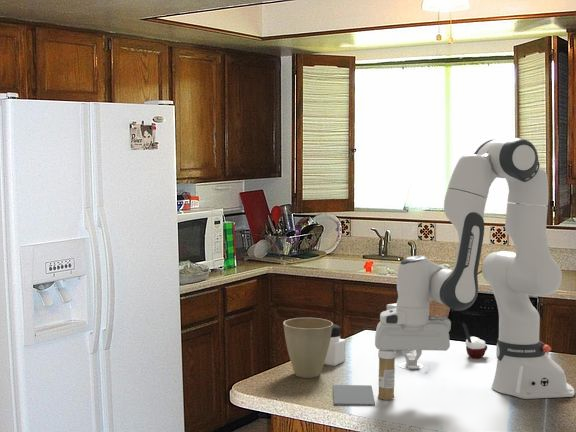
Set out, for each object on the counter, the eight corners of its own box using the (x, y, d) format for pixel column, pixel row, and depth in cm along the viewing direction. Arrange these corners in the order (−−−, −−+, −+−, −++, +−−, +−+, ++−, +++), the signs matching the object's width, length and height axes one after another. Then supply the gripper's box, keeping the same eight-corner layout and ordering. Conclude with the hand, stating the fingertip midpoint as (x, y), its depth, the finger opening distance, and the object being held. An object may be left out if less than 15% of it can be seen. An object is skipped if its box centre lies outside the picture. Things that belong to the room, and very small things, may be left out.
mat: (371, 387, 242) (371, 385, 242) (375, 405, 225) (375, 403, 225) (333, 386, 242) (333, 384, 242) (333, 405, 225) (333, 403, 225)
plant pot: (276, 379, 250) (276, 326, 248) (291, 366, 264) (291, 316, 262) (325, 383, 245) (325, 329, 243) (337, 370, 259) (338, 319, 258)
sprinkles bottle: (376, 395, 233) (377, 348, 232) (392, 395, 234) (393, 347, 233) (379, 400, 229) (380, 352, 228) (396, 400, 229) (397, 352, 228)
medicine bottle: (345, 361, 270) (346, 324, 269) (334, 366, 264) (335, 328, 263) (326, 358, 274) (326, 321, 273) (315, 362, 268) (315, 325, 267)
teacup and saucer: (420, 372, 259) (420, 359, 258) (394, 369, 262) (395, 356, 261) (425, 365, 267) (425, 352, 267) (401, 362, 270) (401, 350, 269)
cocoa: (485, 354, 278) (486, 319, 277) (491, 359, 272) (492, 323, 271) (457, 355, 278) (458, 319, 277) (462, 360, 271) (463, 323, 270)
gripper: (449, 313, 232) (448, 363, 233) (374, 312, 233) (374, 361, 234) (452, 318, 225) (451, 369, 227) (376, 317, 226) (375, 367, 228)
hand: (411, 365), depth 230 cm, fingers closed
